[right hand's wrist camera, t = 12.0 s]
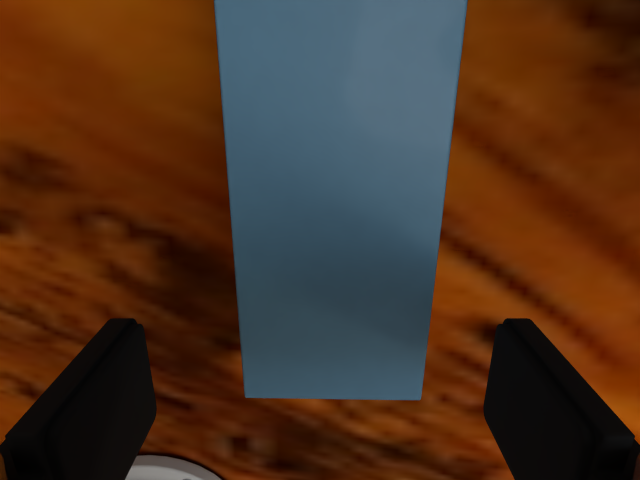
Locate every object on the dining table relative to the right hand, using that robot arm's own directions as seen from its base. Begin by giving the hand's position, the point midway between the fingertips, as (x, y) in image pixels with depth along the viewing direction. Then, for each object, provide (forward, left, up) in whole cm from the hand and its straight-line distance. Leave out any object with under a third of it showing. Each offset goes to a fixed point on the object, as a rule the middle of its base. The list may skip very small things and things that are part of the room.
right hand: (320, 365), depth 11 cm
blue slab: (0, +8, -13) cm, 15 cm away
